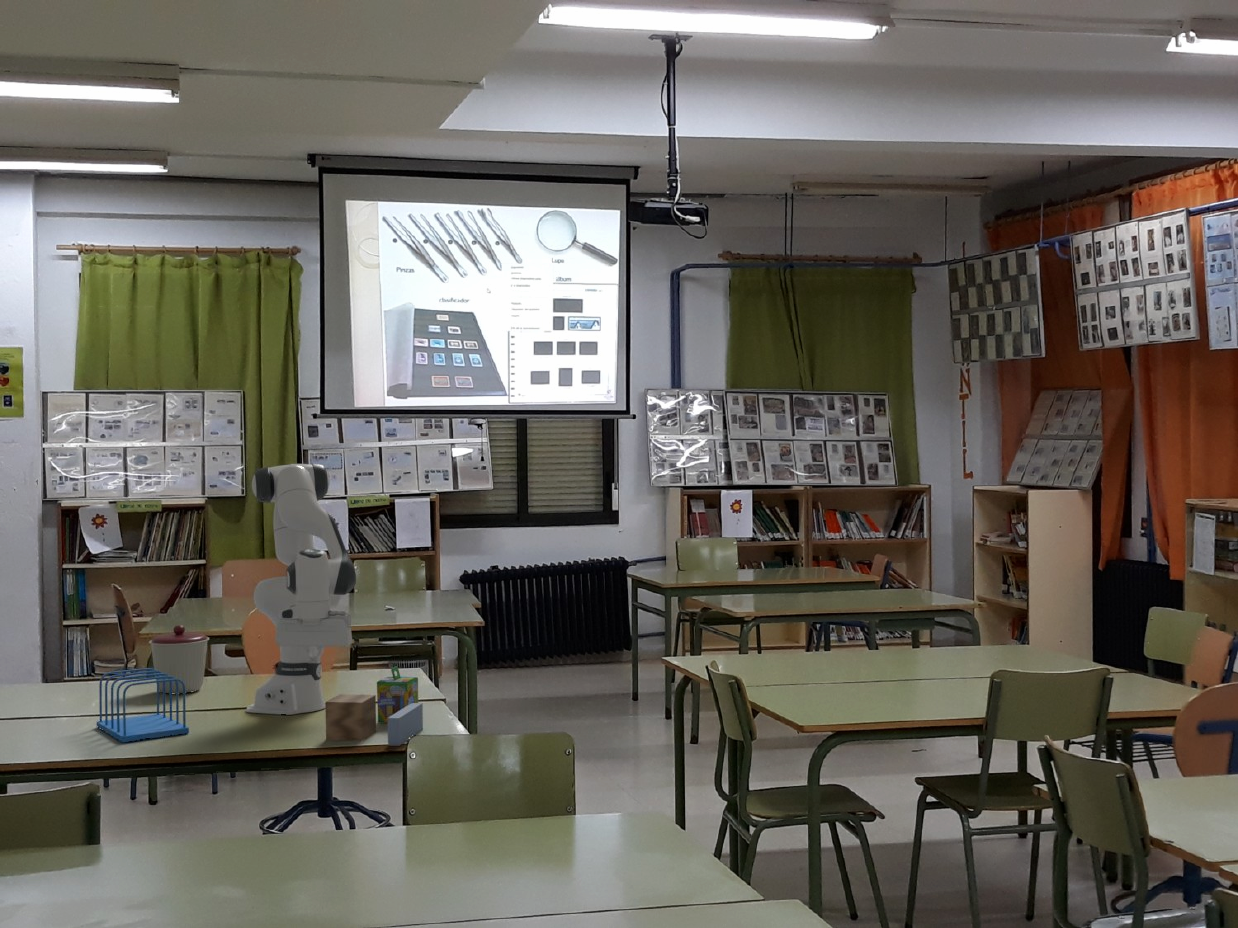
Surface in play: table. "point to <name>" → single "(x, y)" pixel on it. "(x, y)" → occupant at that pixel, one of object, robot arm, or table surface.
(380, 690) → the chalk box
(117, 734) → the file sorter
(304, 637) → the robot arm
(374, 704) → the walnut cube
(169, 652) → the canister
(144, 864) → the table surface
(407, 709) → the board
